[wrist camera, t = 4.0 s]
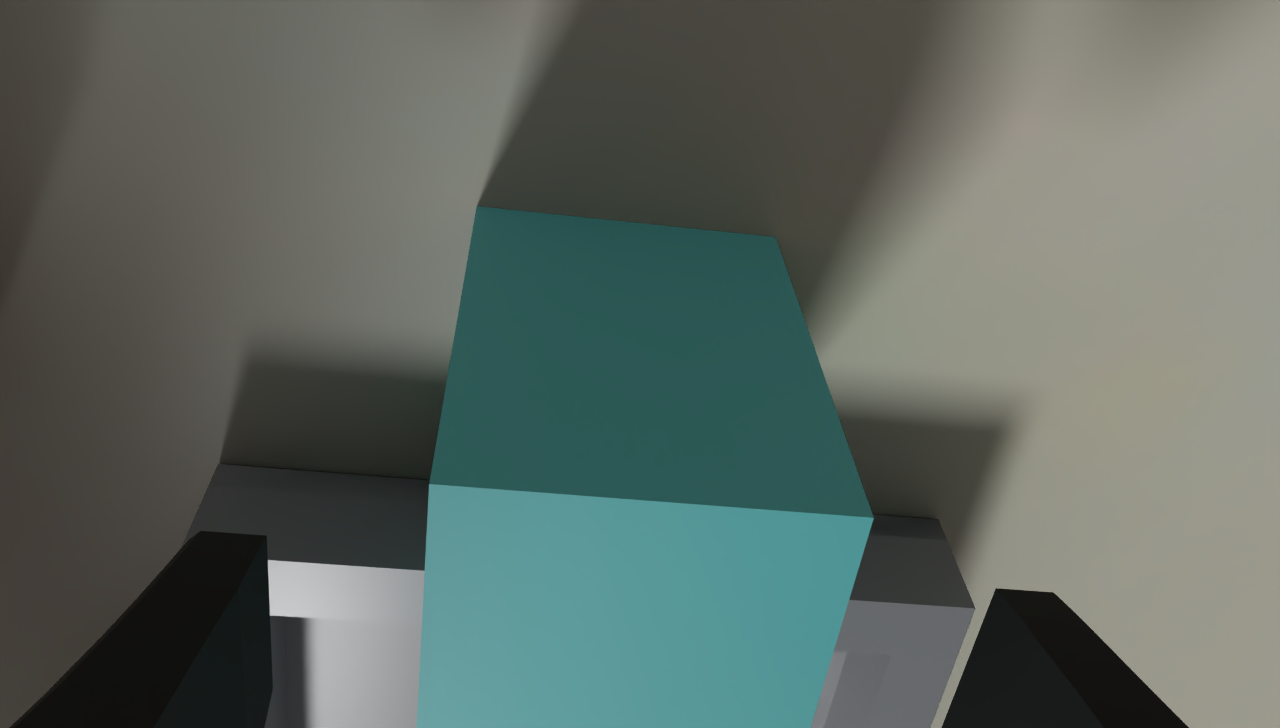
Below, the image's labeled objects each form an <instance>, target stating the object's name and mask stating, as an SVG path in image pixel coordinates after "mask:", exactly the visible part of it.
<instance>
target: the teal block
mask: <svg viewBox="0 0 1280 728" xmlns="http://www.w3.org/2000/svg"><path fill="white" fill-rule="evenodd" d="M873 519H874V517H873V514H872V511H871V508H870V506H869V503H868V500H867V497H866V494H865V491H864V488H863V486H862V483H861V480H860V477H859V474H858V471H857V468H856V466H855V463H854V460H853V457H852V454H851V451H850V448H849V446H848V443H847V440H846V437H845V434H844V431H843V428H842V426H841V423H840V420H839V417H838V414H837V411H836V408H835V406H834V403H833V400H832V397H831V394H830V391H829V388H828V386H827V383H826V380H825V377H824V374H823V371H822V368H821V366H820V363H819V360H818V357H817V354H816V351H815V348H814V346H813V343H812V340H811V337H810V334H809V331H808V328H807V326H806V323H805V320H804V317H803V314H802V311H801V308H800V306H799V303H798V300H797V297H796V294H795V291H794V288H793V286H792V283H791V280H790V277H789V274H788V271H787V268H786V266H785V263H784V260H783V257H782V254H781V251H780V248H779V246H778V243H777V240H776V237H770V236H760V235H750V234H741V233H731V232H721V231H712V230H702V229H692V228H683V227H673V226H663V225H654V224H644V223H634V222H625V221H615V220H605V219H595V218H586V217H576V216H566V215H557V214H547V213H537V212H528V211H518V210H508V209H499V208H489V207H479V206H477V208H476V214H475V220H474V226H473V232H472V237H471V243H470V249H469V255H468V261H467V266H466V272H465V278H464V284H463V290H462V296H461V301H460V307H459V313H458V319H457V325H456V331H455V336H454V342H453V348H452V354H451V360H450V366H449V371H448V377H447V383H446V389H445V395H444V400H443V406H442V412H441V418H440V424H439V430H438V435H437V441H436V447H435V453H434V459H433V465H432V470H431V476H430V482H429V497H428V516H427V535H426V555H425V574H424V593H423V613H422V632H421V652H420V671H419V690H418V710H417V728H811V725H812V721H813V718H814V715H815V711H816V708H817V705H818V701H819V698H820V695H821V691H822V688H823V685H824V681H825V678H826V675H827V671H828V668H829V665H830V662H831V658H832V655H833V652H834V648H835V645H836V642H837V638H838V635H839V632H840V628H841V625H842V622H843V618H844V615H845V612H846V608H847V605H848V602H849V599H850V595H851V592H852V589H853V585H854V582H855V579H856V575H857V572H858V569H859V565H860V562H861V559H862V555H863V552H864V549H865V545H866V542H867V539H868V536H869V532H870V529H871V526H872V522H873Z"/></svg>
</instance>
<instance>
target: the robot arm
mask: <svg viewBox="0 0 1280 728" xmlns="http://www.w3.org/2000/svg"><path fill="white" fill-rule="evenodd" d="M272 691H273V676H272V652H271V627H270V602H269V578H268V553H267V536H266V535H252V534H239V533H225V532H211V531H200V532H198V533H197V534H196V535H194V536H193V537H191V538H190V539H189V540H188V541H187V542H186V543H185V545H184V546H183V547H182V548H181V549H180V550H179V551H178V553H177V554H176V555H175V556H174V557H173V558H172V560H171V561H170V562H169V563H168V564H167V565H166V566H165V568H164V569H163V570H162V571H161V572H160V573H159V574H158V576H157V577H156V578H155V579H154V580H153V581H152V582H151V583H150V585H149V586H148V587H147V588H146V589H145V590H144V591H143V592H142V594H141V595H140V596H139V597H138V598H137V599H136V600H135V601H134V602H133V603H132V605H131V606H130V607H129V608H128V609H127V610H126V611H125V612H124V613H123V614H122V615H121V616H120V617H119V619H118V620H117V621H116V622H115V623H114V624H113V625H112V626H111V627H110V628H109V629H108V630H107V631H106V633H105V634H104V635H103V636H102V637H101V638H100V639H99V640H98V641H97V642H96V643H95V644H94V645H93V646H92V647H91V648H90V649H89V650H88V651H87V652H86V653H85V654H84V655H83V656H82V657H81V658H80V659H79V660H78V661H77V662H76V663H75V664H74V665H73V666H72V667H71V668H70V669H69V670H68V671H67V672H66V673H65V674H64V675H63V676H62V677H61V678H60V679H59V681H58V682H57V683H56V684H55V685H54V686H53V687H52V688H51V689H50V690H49V691H48V692H47V693H46V694H45V695H44V696H43V697H42V698H41V699H39V700H38V701H37V702H36V703H35V704H34V705H33V706H32V707H31V708H30V709H29V710H28V711H27V712H26V713H25V714H24V715H23V716H22V717H20V718H19V719H18V720H17V721H16V722H15V723H14V724H13V725H12V726H11V727H10V728H265V723H266V718H267V714H268V709H269V705H270V700H271V696H272ZM942 728H1189V727H1188V726H1187V725H1186V724H1185V723H1184V722H1183V721H1182V720H1181V719H1180V718H1179V717H1178V716H1177V715H1176V714H1175V713H1174V712H1173V711H1172V710H1171V709H1170V708H1169V707H1168V706H1167V705H1166V704H1165V703H1164V702H1163V701H1162V700H1161V699H1160V698H1159V697H1158V696H1157V695H1156V694H1155V693H1154V692H1153V691H1152V690H1151V689H1150V688H1149V687H1148V686H1147V685H1146V684H1145V683H1144V682H1143V681H1142V680H1141V679H1140V678H1139V677H1138V676H1137V675H1136V674H1135V673H1134V672H1133V671H1132V670H1131V669H1130V668H1129V667H1128V666H1127V665H1126V664H1125V663H1124V662H1123V661H1122V660H1121V659H1120V658H1119V657H1118V656H1117V655H1116V654H1115V653H1114V652H1113V651H1112V650H1111V649H1110V648H1109V647H1108V646H1107V645H1106V644H1105V643H1104V641H1103V640H1102V639H1101V638H1100V637H1099V636H1098V635H1097V634H1096V633H1095V632H1094V631H1093V630H1092V629H1091V628H1090V627H1089V626H1088V625H1087V624H1086V623H1085V622H1084V621H1083V620H1082V619H1081V618H1080V617H1079V616H1078V615H1077V614H1076V613H1074V612H1073V611H1072V610H1071V609H1070V608H1069V607H1068V606H1067V605H1066V604H1065V603H1064V602H1063V601H1062V600H1061V599H1060V598H1059V597H1058V596H1057V595H1055V594H1054V593H1052V592H1038V591H1024V590H1010V589H997V588H996V590H995V592H994V595H993V597H992V600H991V602H990V605H989V608H988V610H987V613H986V615H985V618H984V620H983V623H982V626H981V628H980V631H979V633H978V636H977V638H976V641H975V644H974V646H973V649H972V651H971V654H970V656H969V659H968V661H967V664H966V667H965V669H964V672H963V674H962V677H961V679H960V682H959V685H958V687H957V690H956V692H955V695H954V697H953V700H952V703H951V705H950V708H949V710H948V713H947V715H946V718H945V720H944V723H943V726H942Z"/></svg>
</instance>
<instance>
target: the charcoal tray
mask: <svg viewBox="0 0 1280 728" xmlns="http://www.w3.org/2000/svg"><path fill="white" fill-rule="evenodd" d="M429 482H430V480H418V479H405V478H392V477H379V476H366V475H353V474H340V473H327V472H314V471H301V470H289V469H276V468H263V467H250V466H237V465H224V464H218V465H217V468H216V470H215V472H214V475H213V477H212V479H211V481H210V484H209V486H208V488H207V491H206V493H205V495H204V497H203V500H202V502H201V504H200V507H199V509H198V511H197V513H196V516H195V518H194V520H193V523H192V525H191V527H190V529H189V532H188V534H187V536H186V539H185V541H184V543H183V545H182V547H183V546H184V545H185V543H186V542H187V541H188V540H189V539H190V538H191V537H193V536H194V535H196V534H197V533H198V532H200V531H211V532H225V533H239V534H252V535H266V536H267V553H268V578H269V602H270V627H271V652H272V676H273V691H272V696H271V700H270V705H269V709H268V714H267V718H266V723H265V728H417V710H418V690H419V671H420V652H421V632H422V613H423V593H424V574H425V555H426V535H427V516H428V497H429ZM873 517H874V519H873V522H872V526H871V529H870V532H869V536H868V539H867V542H866V545H865V549H864V552H863V555H862V559H861V562H860V565H859V569H858V572H857V575H856V579H855V582H854V585H853V589H852V592H851V595H850V599H849V602H848V605H847V608H846V612H845V615H844V618H843V622H842V625H841V628H840V632H839V635H838V638H837V642H836V645H835V648H834V652H833V655H832V658H831V662H830V665H829V668H828V671H827V675H826V678H825V681H824V685H823V688H822V691H821V695H820V698H819V701H818V705H817V708H816V711H815V715H814V718H813V721H812V725H811V728H930V727H931V724H932V722H933V719H934V716H935V714H936V711H937V709H938V706H939V703H940V701H941V698H942V695H943V693H944V690H945V687H946V685H947V682H948V680H949V677H950V674H951V672H952V669H953V666H954V664H955V661H956V658H957V656H958V653H959V651H960V648H961V645H962V643H963V640H964V637H965V635H966V632H967V629H968V627H969V624H970V621H971V619H972V616H973V614H974V611H975V606H974V604H973V602H972V599H971V597H970V595H969V592H968V590H967V587H966V585H965V583H964V580H963V578H962V575H961V573H960V571H959V568H958V566H957V564H956V561H955V559H954V556H953V554H952V552H951V549H950V547H949V545H948V542H947V540H946V537H945V535H944V533H943V530H942V528H941V525H940V523H939V521H938V520H937V519H924V518H911V517H898V516H885V515H873Z"/></svg>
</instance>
